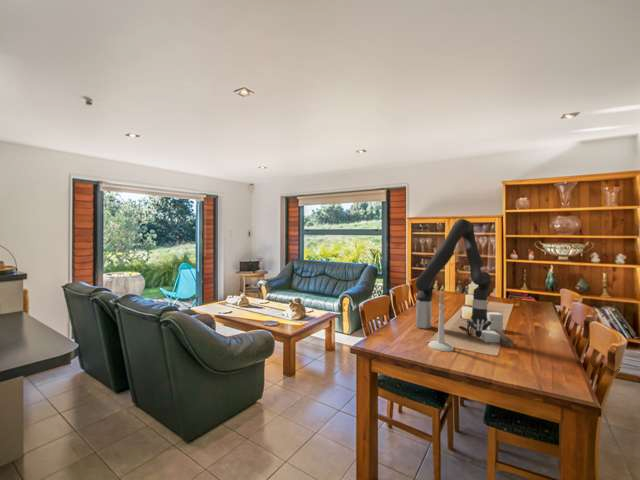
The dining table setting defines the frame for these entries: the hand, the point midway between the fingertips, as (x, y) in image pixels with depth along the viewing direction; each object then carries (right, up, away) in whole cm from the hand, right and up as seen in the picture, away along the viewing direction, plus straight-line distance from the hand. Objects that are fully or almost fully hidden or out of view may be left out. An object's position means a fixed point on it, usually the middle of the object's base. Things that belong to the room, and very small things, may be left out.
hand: (478, 336), depth 178 cm
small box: (+19, -1, +18) cm, 26 cm away
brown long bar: (+12, -2, -2) cm, 12 cm away
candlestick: (-26, -2, -12) cm, 29 cm away
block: (+6, -2, 0) cm, 6 cm away
